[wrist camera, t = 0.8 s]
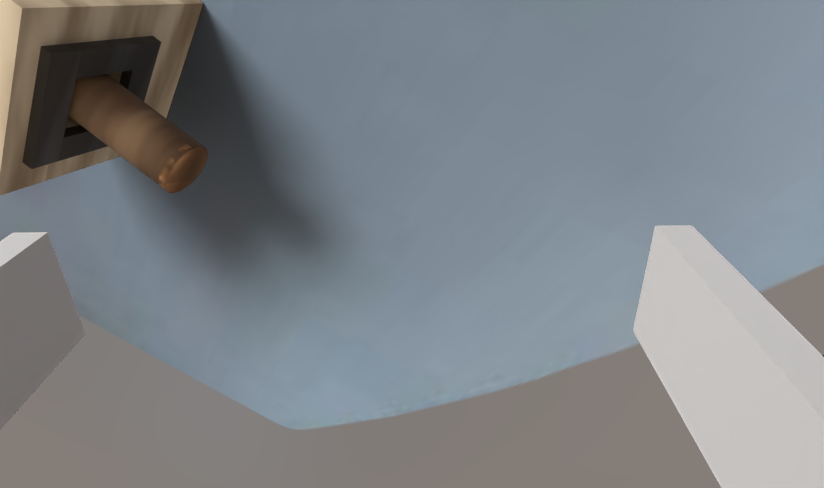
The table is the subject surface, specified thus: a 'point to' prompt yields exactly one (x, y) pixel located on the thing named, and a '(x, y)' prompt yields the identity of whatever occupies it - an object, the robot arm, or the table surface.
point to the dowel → (137, 132)
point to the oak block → (80, 74)
